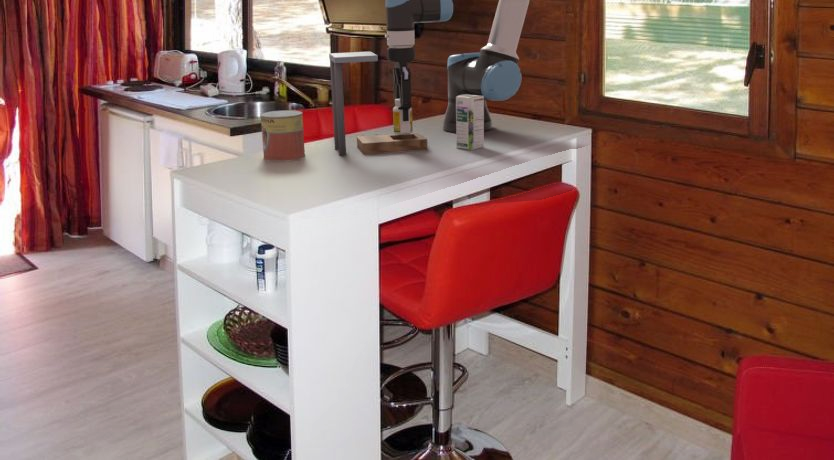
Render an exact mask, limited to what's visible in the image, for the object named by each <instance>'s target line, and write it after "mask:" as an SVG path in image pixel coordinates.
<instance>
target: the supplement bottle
mask: <svg viewBox="0 0 834 460" xmlns="http://www.w3.org/2000/svg"><path fill="white" fill-rule="evenodd" d="M405 104H406V103H405ZM394 105H395V106H394V107H393V108H392V119H393V120H392V121H393V122H392V123H393V134H397V135H408V134H411V133H414V132H413V127H414V126H413V108H412V107H411V108H410V133H400V110H398V107H400V106H401V105H400V98H399V99H395V102H394Z"/></svg>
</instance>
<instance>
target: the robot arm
mask: <svg viewBox="0 0 834 460" xmlns="http://www.w3.org/2000/svg"><path fill="white" fill-rule="evenodd" d="M529 4H530V0H498V3H497V7H496V9H495V15H494V18H493V22H492V26H491V28H490V33H489V36H488V37H489V38H488V40H487V44H486V45H485V46H483V47H481V48H480V50H479V52H468V53H458V54H452V55H449V56H448V58H447V66H446V70H447V100H448V102H447V103H448V104H447V107H446V111H445V114H444V118H443V121H442V129H443V131H446V132H451V133H456V97H457V96H459V95H477V96H484V132H485V131H490V130H492V129H493V121H492V117H491V115H490V111H489V108H488V105H487V100H489V101H491V102H492V101H493V102H495V101H498V102H499V101H500V102H501V101H506V100H508V99H510V98H513V96H514V95H516V93H517V92H518V91H519V88H520V87H521V83H522V77H523V76H522V73H521V68H520V67H519V61H520V57H519V55H518V54H517V49H518V45H519V41H520V37H521V33H522V30H523V27H524V23H525V18H526V16H527V15H526V14H527V12H528V7H529ZM384 5H385V19H386V20H385V22H386V33H387V34H385V35H384V38H385V39H386V45H387V46H388V47H387V48H386V52H387V53H386V54H387V56H386V57H387V62H390V63H391V62H392V63H394V66H393V67H392V75H393V77H392V79H393V102H394V103H395V99H399V98H400V105H401V106H400V107H398V110H400V133H410V108H412V107H413V105H412V84H411V83H412V82H411V81H412V80H411V79H412V78H411V77H412V72H411V70H410V69H411V68H409V66H408V63H409V62H414V60H415V59H416V58H415V57H416V55H415V52H416V51H415V50H416V48H415V46H414V45H415V41H416V39H415V24H419V23H420V24H421V23H422V24H423V23H426V24H427V23H441V22H447V21H449V20H450V19H451V18H452V16H453V13H454V2H453V0H385V4H384ZM405 103H406V104H405Z"/></svg>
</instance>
